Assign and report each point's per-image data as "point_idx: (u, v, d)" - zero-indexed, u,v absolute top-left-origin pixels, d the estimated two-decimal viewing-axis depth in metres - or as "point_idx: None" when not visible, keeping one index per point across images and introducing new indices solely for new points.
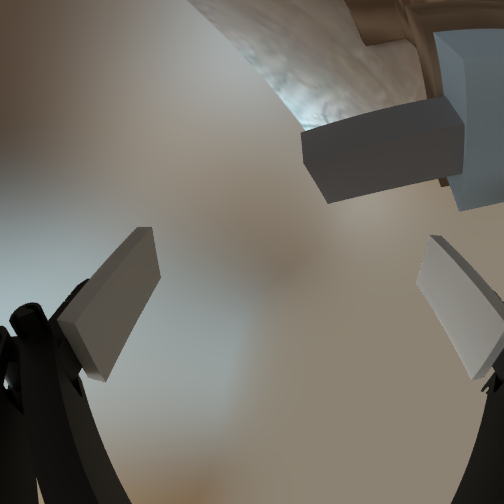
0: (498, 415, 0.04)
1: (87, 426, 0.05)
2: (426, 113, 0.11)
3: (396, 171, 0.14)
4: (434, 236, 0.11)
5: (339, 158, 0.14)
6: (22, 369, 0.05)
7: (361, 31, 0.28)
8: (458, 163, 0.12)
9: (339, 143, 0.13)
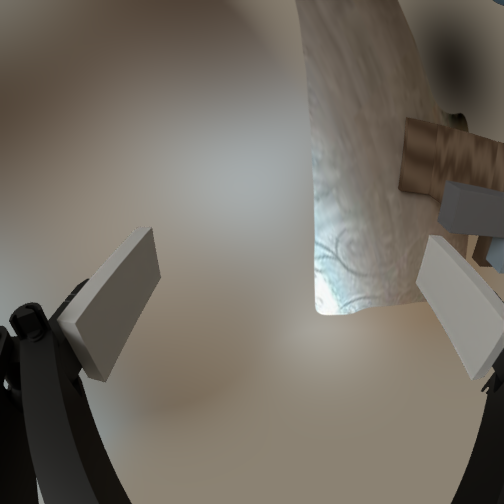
0: (498, 415, 0.04)
1: (87, 426, 0.05)
2: (503, 194, 0.19)
3: (488, 221, 0.19)
4: (434, 236, 0.11)
5: (474, 196, 0.18)
6: (22, 369, 0.05)
7: (404, 177, 0.46)
8: None
9: (472, 189, 0.19)
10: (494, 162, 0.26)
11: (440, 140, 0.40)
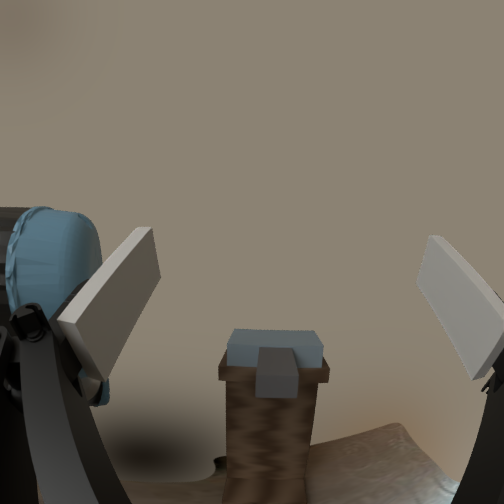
0: (498, 415, 0.04)
1: (87, 426, 0.05)
2: None
3: (281, 359, 0.30)
4: (434, 236, 0.11)
5: (261, 367, 0.27)
6: (22, 369, 0.05)
7: (291, 501, 0.33)
8: (283, 348, 0.33)
9: None
10: (245, 403, 0.40)
11: (243, 473, 0.39)
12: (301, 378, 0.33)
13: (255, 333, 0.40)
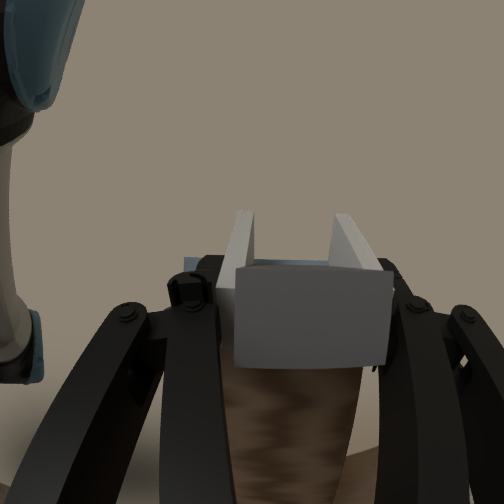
0: (394, 404, 0.06)
1: (224, 409, 0.06)
2: None
3: None
4: (339, 213, 0.14)
5: None
6: (170, 337, 0.07)
7: None
8: None
9: None
10: (230, 400, 0.22)
11: None
12: None
13: None
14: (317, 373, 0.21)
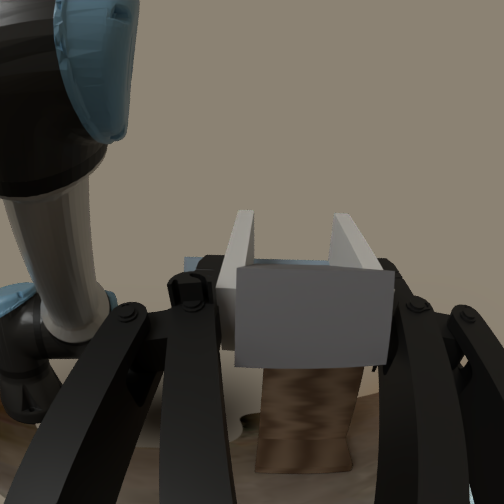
0: (394, 404, 0.06)
1: (224, 409, 0.06)
2: None
3: None
4: (339, 213, 0.14)
5: (257, 266, 0.09)
6: (170, 337, 0.07)
7: (335, 465, 0.31)
8: None
9: None
10: None
11: (278, 433, 0.37)
12: None
13: None
14: None
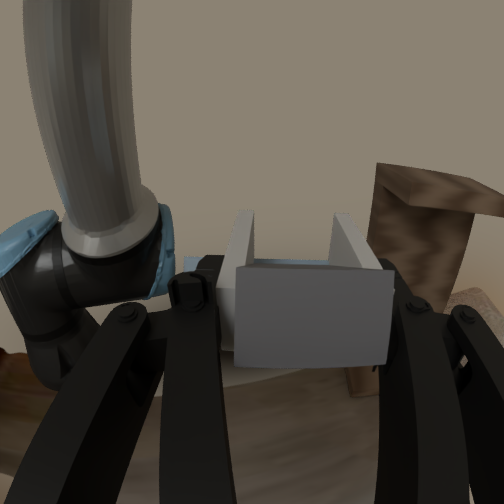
0: (394, 404, 0.06)
1: (224, 410, 0.06)
2: None
3: None
4: (339, 213, 0.14)
5: None
6: (170, 337, 0.07)
7: None
8: (308, 264, 0.15)
9: None
10: (396, 246, 0.30)
11: None
12: (491, 208, 0.20)
13: None
14: (449, 228, 0.28)
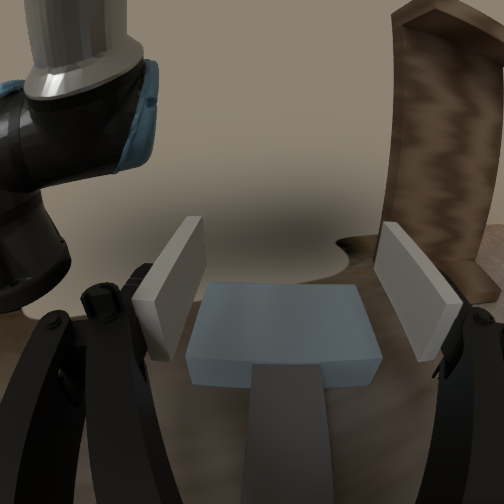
0: (452, 405, 0.05)
1: (150, 414, 0.06)
2: None
3: (299, 428, 0.12)
4: (388, 222, 0.13)
5: (252, 478, 0.10)
6: (89, 349, 0.06)
7: (487, 290, 0.22)
8: (303, 368, 0.15)
9: None
10: (430, 96, 0.20)
11: None
12: None
13: (246, 300, 0.21)
14: (481, 89, 0.18)
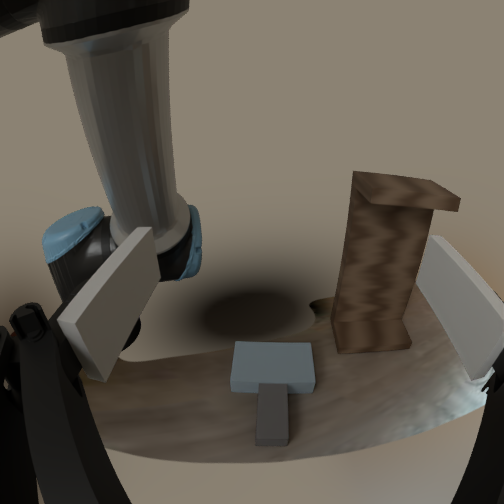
0: (498, 415, 0.04)
1: (87, 426, 0.05)
2: None
3: (276, 408, 0.33)
4: (434, 236, 0.11)
5: (259, 426, 0.31)
6: (22, 369, 0.05)
7: (399, 343, 0.43)
8: (279, 385, 0.37)
9: (256, 426, 0.31)
10: (368, 233, 0.41)
11: (350, 315, 0.49)
12: (439, 204, 0.31)
13: (255, 352, 0.42)
14: (411, 219, 0.39)
